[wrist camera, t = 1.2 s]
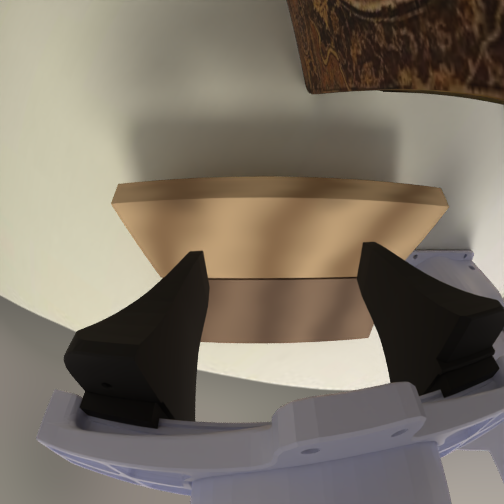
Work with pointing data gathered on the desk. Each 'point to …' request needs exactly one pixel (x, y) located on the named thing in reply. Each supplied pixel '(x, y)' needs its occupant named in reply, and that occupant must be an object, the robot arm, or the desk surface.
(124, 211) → the oak plank
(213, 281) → the walnut strip
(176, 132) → the desk surface
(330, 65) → the book
